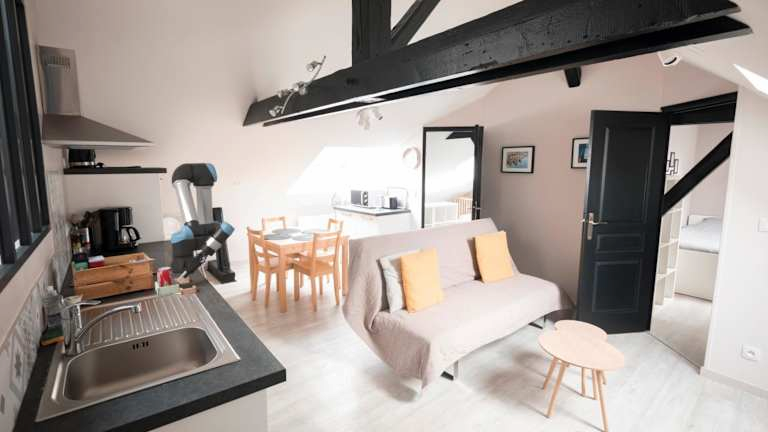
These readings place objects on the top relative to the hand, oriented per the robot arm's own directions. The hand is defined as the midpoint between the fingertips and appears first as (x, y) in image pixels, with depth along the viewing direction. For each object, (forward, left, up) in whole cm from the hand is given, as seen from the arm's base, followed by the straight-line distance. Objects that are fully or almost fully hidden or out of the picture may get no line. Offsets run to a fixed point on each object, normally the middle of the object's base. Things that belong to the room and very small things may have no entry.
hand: (179, 282), depth 200 cm
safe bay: (+4, -4, -3) cm, 6 cm away
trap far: (-8, -5, -3) cm, 10 cm away
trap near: (+5, +8, -3) cm, 10 cm away
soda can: (+4, -5, -4) cm, 7 cm away
